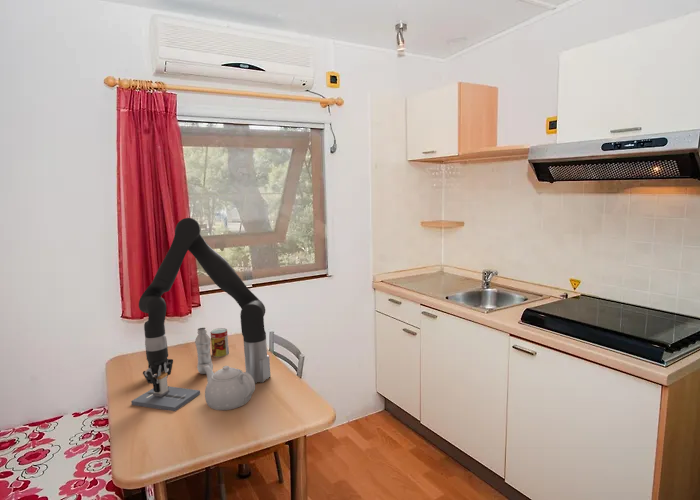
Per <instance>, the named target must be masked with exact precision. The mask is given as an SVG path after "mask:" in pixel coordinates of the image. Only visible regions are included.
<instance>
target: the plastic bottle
mask: <svg viewBox="0 0 700 500" xmlns="http://www.w3.org/2000/svg"><path fill="white" fill-rule="evenodd" d="M194 343H195V346H196V351H197V352H196V353H197V367H196V368H197V371H198V373H199V374H201V375H207V374H206V371H205V370H204V369H203V368H204V367H205V366H210V368H211V369H212V371H213V370H214V369H213V368H214V365H213V360H212V356H211V355H212V354H211V336H209V335H208V331H207V327H198V328H197V336H196V337H195V341H194Z"/></svg>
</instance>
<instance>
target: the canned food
mask: <svg viewBox="0 0 700 500" xmlns="http://www.w3.org/2000/svg"><path fill="white" fill-rule="evenodd" d="M209 333H210V339H211V342H210V346H211V353H212V354H211V355H212V356H214V358H223V357H226V356H228V355H229V354H230V349H229V338H228V337H229V336H228V329H227V328H222V327H218V328H215V329H211V330H210V332H209ZM212 356H211V357H212ZM222 356H223V357H222Z"/></svg>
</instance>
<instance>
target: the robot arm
mask: <svg viewBox="0 0 700 500" xmlns="http://www.w3.org/2000/svg"><path fill="white" fill-rule="evenodd" d="M188 251H189V252H190V254H192V256H193V257H194V258H195V260H196V261H197V262H198V264H199V266H201V268H202V269H203V270H204V272H205V273H206V274H207V276H208V277H209V278H210V279H211V280H212V282H213V283H214V284H215V285H216V286H217V287H218V288H219V289H220V290H221V291H223V292H225V293H226V294H228V295H229V296H230V297H231V298H233V300H235V302H236V303H237V304H238V306H239V307H240V313H239V315H240V329H241V334H242V335H241V336H242V338H243V339H242V340H243V351H244V354H243V355H244V366H245V367H244V369H245V372H247V373H249V374H250V375H251V376H252V378H253V379H254V382H255V384H258V383H257V382H260V383H265V382H266V381H267V380H268V379H270V378H271V377H270V376H272V375H271V363H270V360H271V359H270V355H269V354H268V349H267V348H268V347H267V333H266V330H265V329H266V328H265V319H264V318H265V317H264V316H265V313H266V307H265V304H264V303H263V302H262V301H261V299H259V298H258V297H257V296H256V295H255V294H254V293H253V292H252V291H251V290H250V289H249V288H248V286H247V285H246V284H245V282H244V281H243V280H242V278H241V277H240V276H239V274H238V273H237V272H236V271H235V269H234V268H233V267H232V266H231V264H230V263H229V262H228V260H227V259H226V258H224V257H223V256H222V255H221V254H220V253H218V252H217V250H215V249H213V248H212V247H211V246H210V245H209V244H208V242H206V240H205V239H204V237H203V235H202V234H201V226H200V223H199V222H198V221H197V220H196V219H194V218H192V217H185V218H182V219H181V220H179V221H178V222H177V223H176V225H175V229H174V236H173V240H172V242H171V245H170V247H169V249H168V250H167V253H166V255H165V257H164V258H163V260H162V262H161V264H160V266H159V267H158V269H157V271H156V273H155V275H154V277H153V280H152V282H151V283H150V285H148V286H147V288H146V289H145V290H144V292H143V293H142V295H141V296H140V298H139V300H138V308H139V310H140V311H141V312H142V313H145V314H147V315H148V318H147V319H148V320H146V321H145V322H144V324H143V330H144V345H145V346H144V347H145V356H146V360H147V363H148V362H149V366H147V369H146V370H143V372H142V375H143V376H144V379H145V380H146V382H147V383H148V384H152V389H154V391H155V392H160V384H159V377H160V373H167V374H168V376H167V378H168V377H169V376H170V375H171V373H172V370H173V364H174V359H171V358H169V352H168V351H169V350H168V340H167V336H166V327H165V321H166V315H167V303H166V301H165V298H163V297H162V296H163V294H164V293H167V292H169V291H170V290H171V289H172V286H173V284H174V283H175V280H176V279H177V275H178V274H179V271H180V269H181V265H182V264H183V262H184V259H185V257H186V255H187V253H188ZM167 369H168V372H167ZM154 377H156V380H155V379H154ZM269 377H270V378H269ZM266 379H267V380H266ZM265 380H266V381H265ZM264 381H265V382H264Z"/></svg>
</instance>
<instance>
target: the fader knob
mask: <svg viewBox="0 0 700 500" xmlns="http://www.w3.org/2000/svg"><path fill="white" fill-rule="evenodd" d="M167 376H168V377H169V375H168V374H167V373H160V377H159V384H160V392H155V391H154V393H153V396H159V397H162V396H163V395H165V394H167V393H168V392H170V391H169V390H168V377H167ZM154 379H155V380H156V377H154Z"/></svg>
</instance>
